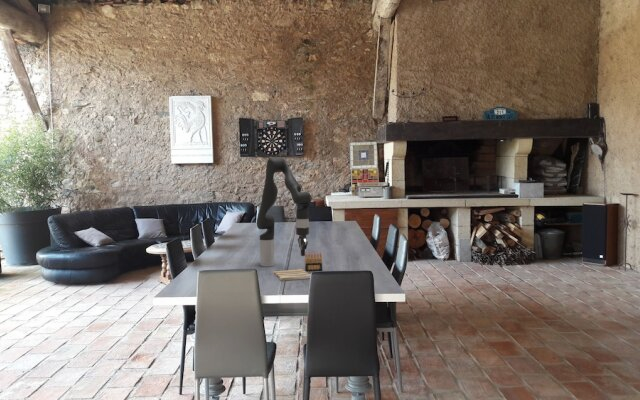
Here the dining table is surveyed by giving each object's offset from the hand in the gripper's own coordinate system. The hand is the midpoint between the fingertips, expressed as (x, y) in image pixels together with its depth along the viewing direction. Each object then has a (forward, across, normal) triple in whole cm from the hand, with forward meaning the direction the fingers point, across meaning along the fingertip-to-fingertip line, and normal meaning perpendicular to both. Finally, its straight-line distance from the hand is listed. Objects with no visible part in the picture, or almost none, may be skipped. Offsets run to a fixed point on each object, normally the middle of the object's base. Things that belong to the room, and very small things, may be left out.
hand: (302, 255), depth 295 cm
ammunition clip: (+13, -14, +11) cm, 22 cm away
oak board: (+13, -11, -5) cm, 18 cm away
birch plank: (+13, -1, -5) cm, 14 cm away
